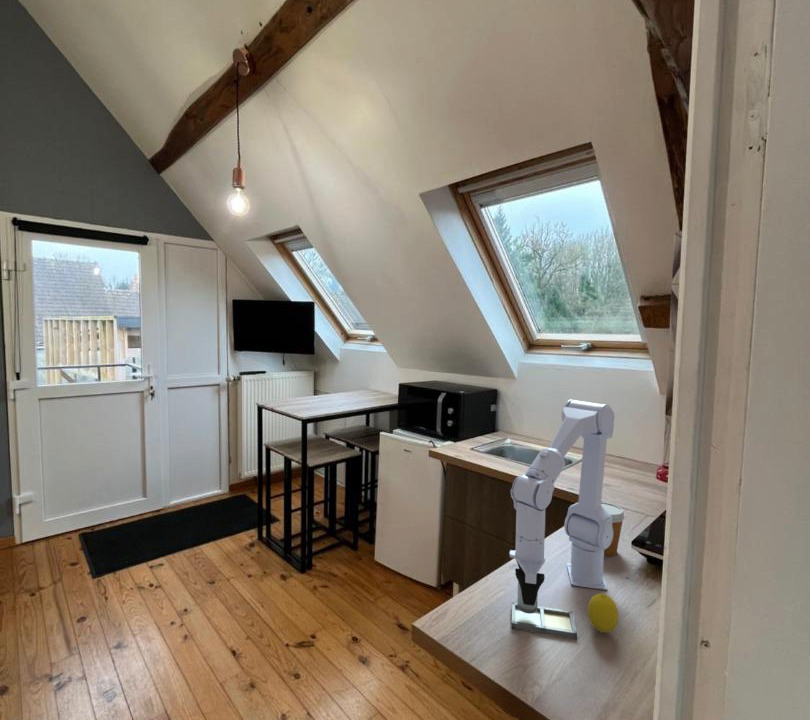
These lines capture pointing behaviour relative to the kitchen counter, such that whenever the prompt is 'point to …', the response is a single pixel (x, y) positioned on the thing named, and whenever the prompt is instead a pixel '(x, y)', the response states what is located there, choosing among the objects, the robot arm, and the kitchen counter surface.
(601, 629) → the lemon
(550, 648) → the kitchen counter surface
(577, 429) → the robot arm
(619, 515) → the disposable coffee cup
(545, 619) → the checker tray
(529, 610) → the cell
